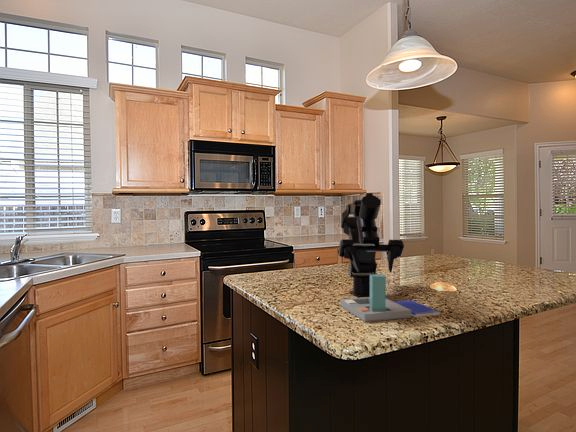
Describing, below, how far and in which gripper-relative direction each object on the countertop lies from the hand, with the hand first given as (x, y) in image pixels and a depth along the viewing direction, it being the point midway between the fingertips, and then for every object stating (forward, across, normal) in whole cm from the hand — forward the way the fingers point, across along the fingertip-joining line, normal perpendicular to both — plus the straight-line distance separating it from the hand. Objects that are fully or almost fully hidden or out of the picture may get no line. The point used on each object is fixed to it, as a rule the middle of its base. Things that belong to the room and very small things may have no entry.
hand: (374, 271), depth 104 cm
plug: (+11, 0, -5) cm, 12 cm away
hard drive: (+7, -12, -10) cm, 17 cm away
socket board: (+8, 0, -8) cm, 12 cm away
